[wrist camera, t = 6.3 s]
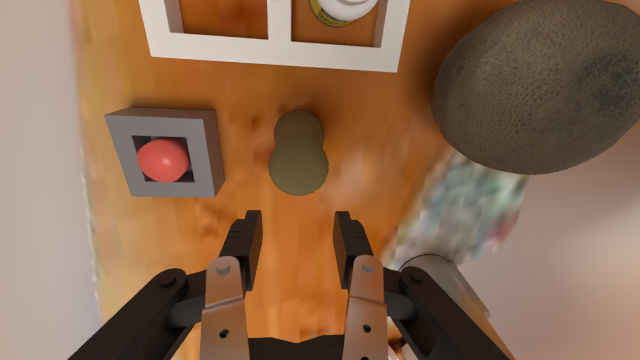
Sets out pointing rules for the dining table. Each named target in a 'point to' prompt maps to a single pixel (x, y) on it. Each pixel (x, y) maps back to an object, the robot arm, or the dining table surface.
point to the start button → (164, 158)
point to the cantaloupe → (541, 85)
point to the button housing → (149, 123)
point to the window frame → (276, 40)
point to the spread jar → (406, 351)
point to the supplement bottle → (340, 10)
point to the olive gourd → (298, 154)
